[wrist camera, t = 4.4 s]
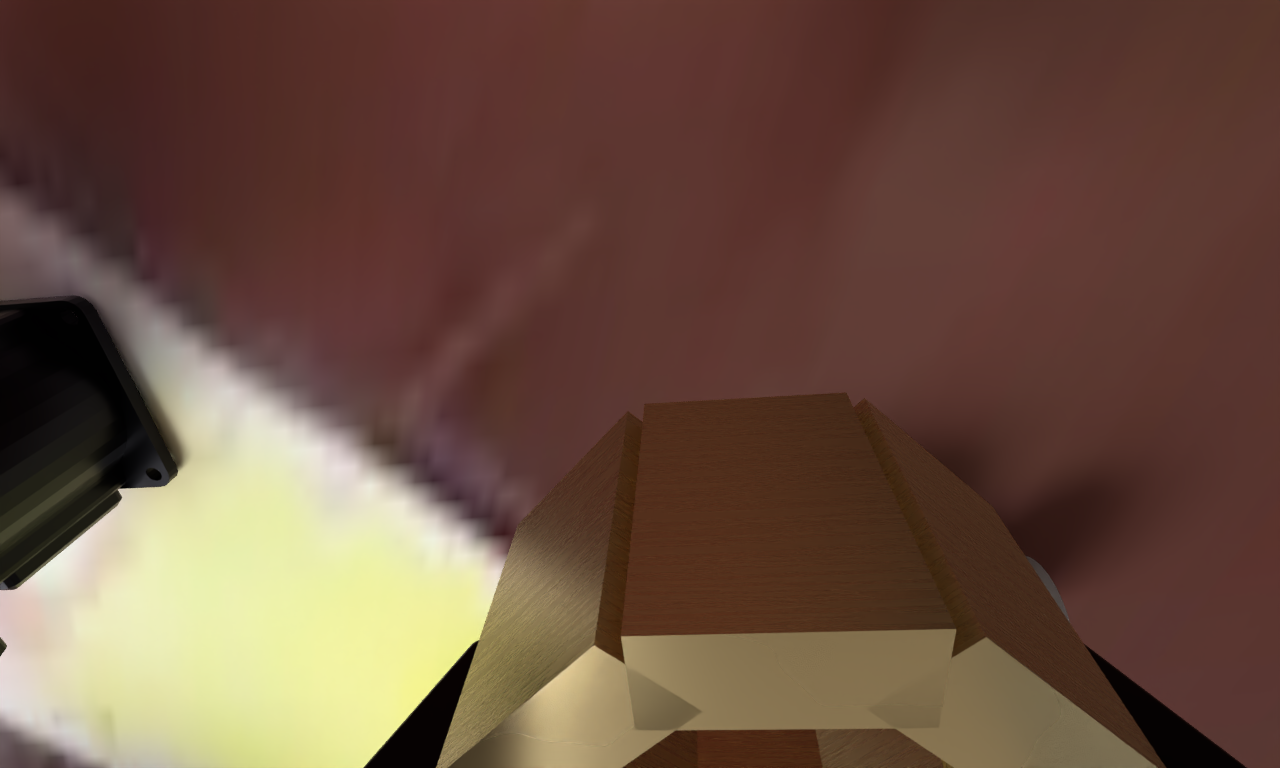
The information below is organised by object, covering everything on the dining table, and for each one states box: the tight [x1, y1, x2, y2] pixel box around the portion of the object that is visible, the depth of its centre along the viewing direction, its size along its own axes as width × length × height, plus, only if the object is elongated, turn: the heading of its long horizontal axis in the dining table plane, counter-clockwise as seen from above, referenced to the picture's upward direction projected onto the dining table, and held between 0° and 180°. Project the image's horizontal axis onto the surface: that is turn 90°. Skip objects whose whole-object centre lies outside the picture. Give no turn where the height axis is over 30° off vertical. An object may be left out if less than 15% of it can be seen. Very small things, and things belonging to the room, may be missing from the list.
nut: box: [436, 393, 1166, 768], centre depth 8 cm, size 6×6×4 cm
